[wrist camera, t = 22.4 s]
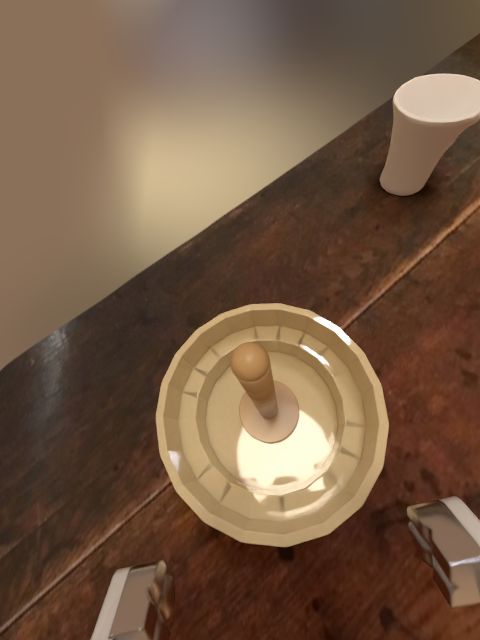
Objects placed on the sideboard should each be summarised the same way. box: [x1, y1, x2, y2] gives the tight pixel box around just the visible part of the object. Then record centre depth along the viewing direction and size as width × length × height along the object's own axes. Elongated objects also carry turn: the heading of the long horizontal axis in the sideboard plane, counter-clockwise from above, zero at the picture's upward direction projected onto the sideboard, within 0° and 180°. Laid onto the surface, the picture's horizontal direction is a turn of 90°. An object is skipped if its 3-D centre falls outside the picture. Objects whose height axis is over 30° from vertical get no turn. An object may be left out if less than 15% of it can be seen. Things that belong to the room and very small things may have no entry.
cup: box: [380, 74, 480, 196], centre depth 31 cm, size 9×9×10 cm
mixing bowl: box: [156, 303, 389, 547], centre depth 22 cm, size 16×16×7 cm
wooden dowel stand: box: [230, 342, 299, 443], centre depth 17 cm, size 5×5×17 cm
